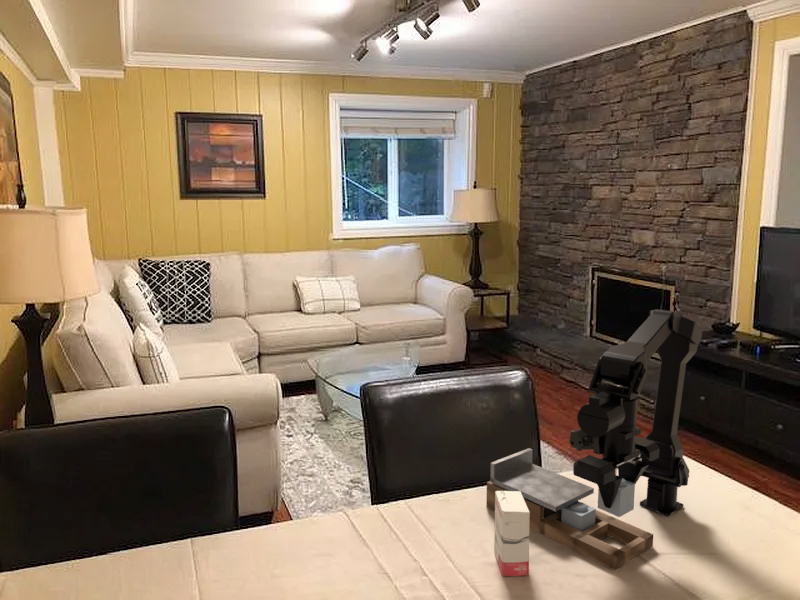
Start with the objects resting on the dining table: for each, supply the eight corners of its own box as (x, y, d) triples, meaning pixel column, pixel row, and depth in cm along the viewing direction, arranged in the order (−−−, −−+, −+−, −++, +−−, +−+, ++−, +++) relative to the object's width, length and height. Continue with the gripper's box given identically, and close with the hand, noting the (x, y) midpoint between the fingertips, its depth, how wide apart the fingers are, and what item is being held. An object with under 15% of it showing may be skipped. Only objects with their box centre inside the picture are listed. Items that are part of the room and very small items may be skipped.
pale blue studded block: (575, 524, 130) (576, 498, 129) (594, 533, 126) (595, 506, 125) (561, 531, 127) (561, 505, 126) (580, 540, 124) (581, 513, 123)
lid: (528, 466, 143) (528, 448, 142) (593, 493, 130) (594, 473, 129) (490, 482, 135) (490, 462, 135) (555, 511, 123) (556, 490, 122)
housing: (524, 489, 145) (524, 466, 144) (652, 547, 121) (654, 519, 120) (486, 506, 137) (486, 482, 136) (615, 570, 114) (617, 542, 113)
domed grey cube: (611, 500, 123) (613, 472, 122) (633, 509, 119) (635, 480, 118) (597, 507, 120) (598, 479, 119) (619, 517, 116) (620, 488, 115)
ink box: (529, 576, 112) (531, 512, 110) (501, 577, 112) (502, 512, 110) (519, 549, 121) (521, 489, 119) (493, 549, 121) (494, 489, 119)
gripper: (609, 399, 129) (606, 474, 131) (549, 421, 117) (547, 503, 120) (663, 414, 120) (658, 494, 123) (603, 439, 109) (599, 526, 111)
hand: (615, 503), depth 119 cm, fingers closed on domed grey cube, 4 cm apart
